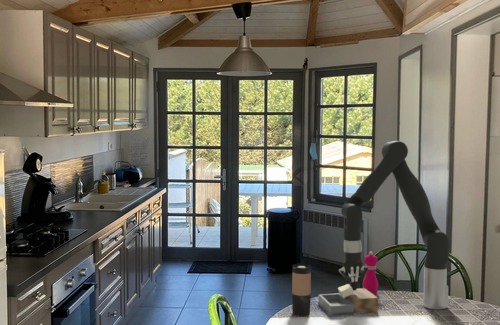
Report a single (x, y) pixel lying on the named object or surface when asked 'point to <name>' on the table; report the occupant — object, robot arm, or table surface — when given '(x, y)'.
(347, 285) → the cream square block
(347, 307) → the box
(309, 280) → the travel mug
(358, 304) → the ledge
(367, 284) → the pepper mill
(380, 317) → the table surface
